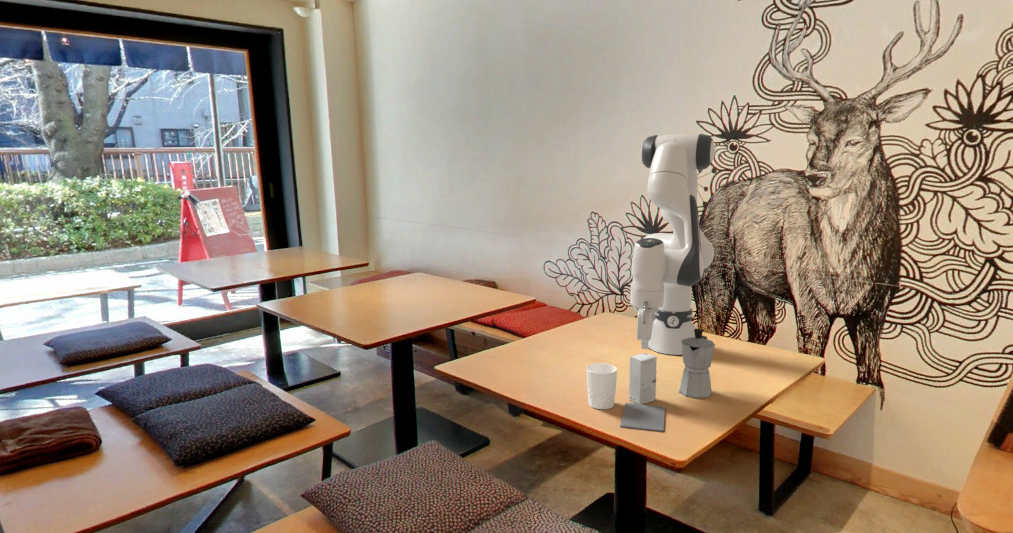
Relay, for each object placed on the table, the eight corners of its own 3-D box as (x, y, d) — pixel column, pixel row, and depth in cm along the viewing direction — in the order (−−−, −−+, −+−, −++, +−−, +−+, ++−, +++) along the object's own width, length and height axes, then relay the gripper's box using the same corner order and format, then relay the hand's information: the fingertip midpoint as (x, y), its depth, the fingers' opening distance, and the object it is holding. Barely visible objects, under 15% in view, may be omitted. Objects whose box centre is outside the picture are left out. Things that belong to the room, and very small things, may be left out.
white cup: (622, 403, 154) (623, 367, 152) (605, 413, 148) (606, 375, 147) (596, 396, 159) (597, 361, 158) (580, 405, 154) (580, 368, 152)
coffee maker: (707, 404, 153) (711, 337, 150) (673, 397, 158) (676, 333, 155) (717, 385, 166) (721, 323, 163) (686, 379, 171) (688, 319, 167)
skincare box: (640, 405, 153) (641, 361, 151) (627, 400, 157) (628, 356, 154) (656, 400, 156) (658, 356, 154) (644, 394, 160) (645, 352, 158)
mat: (625, 404, 154) (625, 402, 154) (664, 408, 151) (665, 406, 151) (620, 427, 141) (620, 425, 140) (663, 431, 138) (663, 430, 138)
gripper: (657, 307, 149) (655, 360, 151) (660, 292, 168) (657, 338, 170) (632, 306, 150) (630, 358, 153) (637, 290, 170) (635, 336, 172)
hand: (644, 347), depth 162 cm, fingers closed
